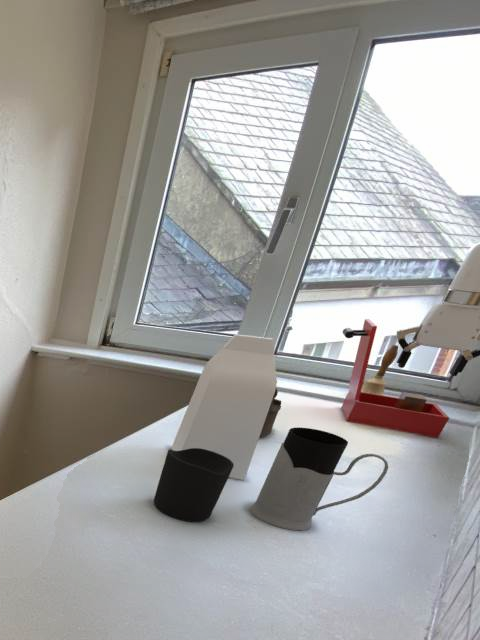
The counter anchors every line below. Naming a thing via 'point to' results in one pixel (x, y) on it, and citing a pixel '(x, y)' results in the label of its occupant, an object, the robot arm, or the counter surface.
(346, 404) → the red shallow rectangular box
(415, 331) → the robot arm
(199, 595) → the counter surface
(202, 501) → the pen holder
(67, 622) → the counter surface
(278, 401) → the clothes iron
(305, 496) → the glass holder
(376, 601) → the counter surface
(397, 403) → the block
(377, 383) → the hand bell
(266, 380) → the milk
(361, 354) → the lid
